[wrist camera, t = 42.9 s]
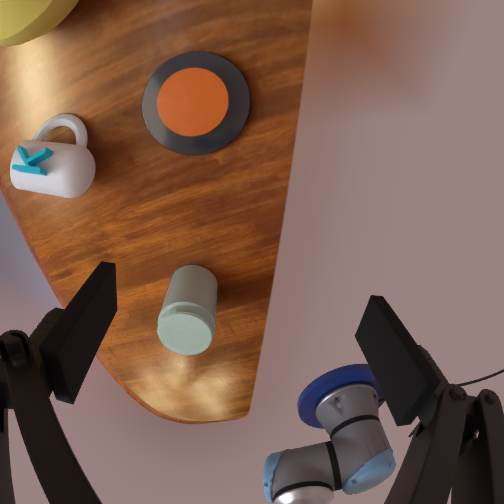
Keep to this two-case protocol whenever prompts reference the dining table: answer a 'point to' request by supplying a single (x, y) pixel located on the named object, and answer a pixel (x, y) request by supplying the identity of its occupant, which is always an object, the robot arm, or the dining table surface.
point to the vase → (30, 18)
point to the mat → (218, 135)
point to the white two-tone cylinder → (54, 161)
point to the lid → (192, 102)
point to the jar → (189, 311)
